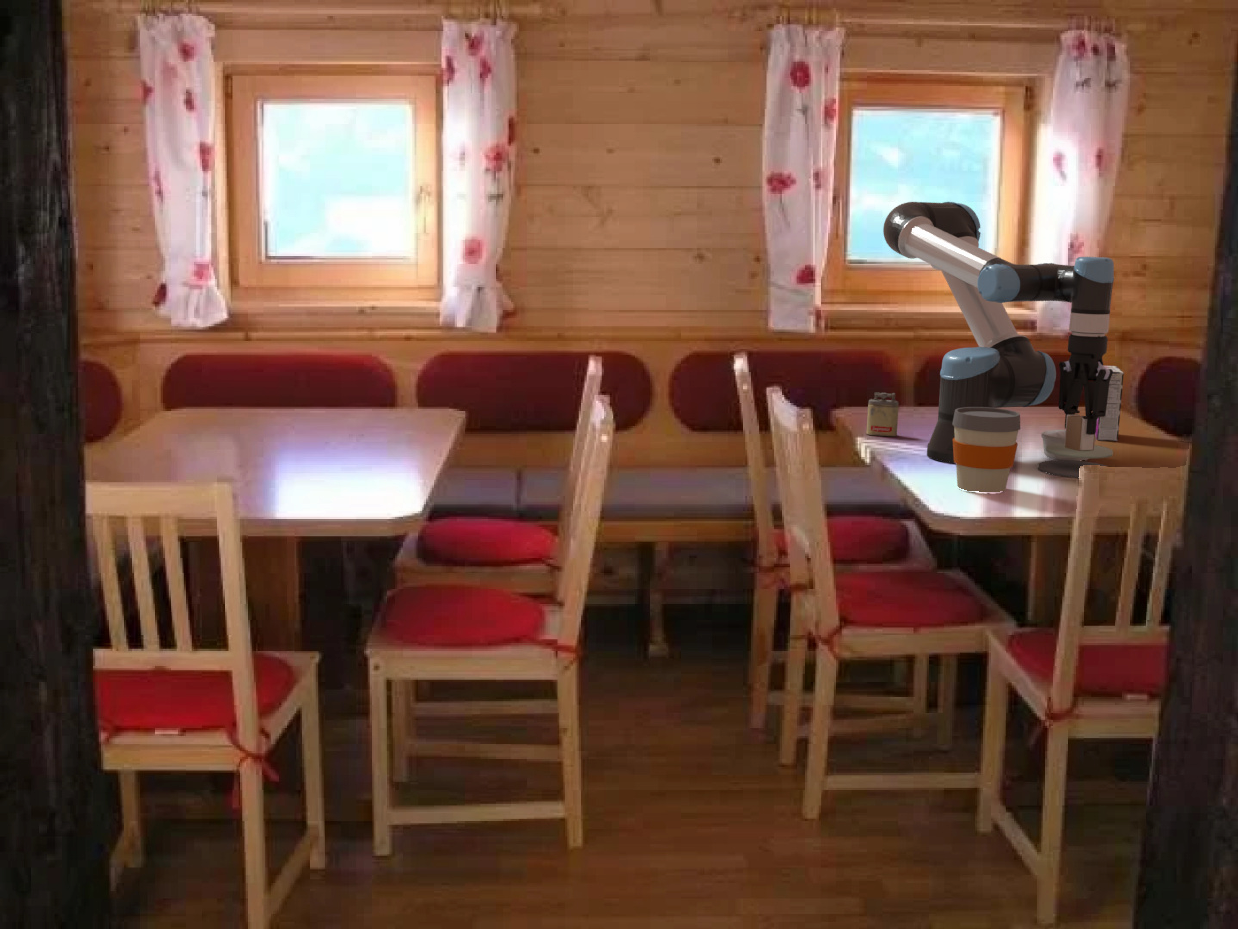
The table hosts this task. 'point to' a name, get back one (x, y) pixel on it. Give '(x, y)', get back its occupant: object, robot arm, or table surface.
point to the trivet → (1063, 467)
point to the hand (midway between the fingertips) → (1078, 447)
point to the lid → (1077, 443)
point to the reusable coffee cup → (984, 447)
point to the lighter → (882, 415)
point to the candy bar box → (1111, 408)
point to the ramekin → (1056, 437)
